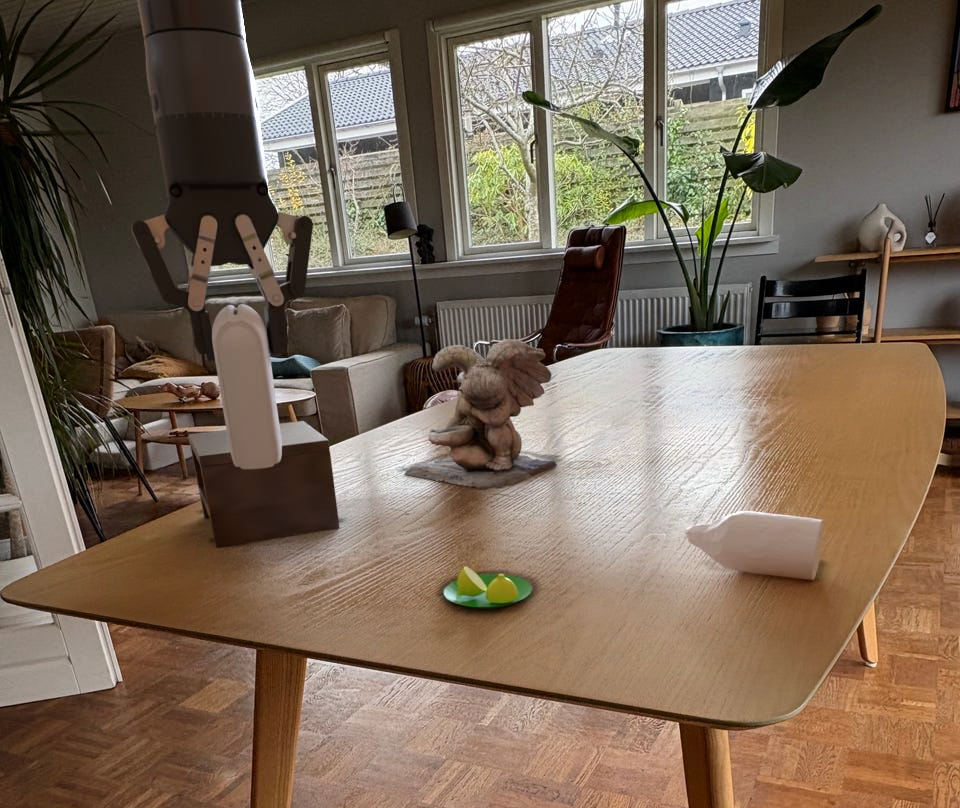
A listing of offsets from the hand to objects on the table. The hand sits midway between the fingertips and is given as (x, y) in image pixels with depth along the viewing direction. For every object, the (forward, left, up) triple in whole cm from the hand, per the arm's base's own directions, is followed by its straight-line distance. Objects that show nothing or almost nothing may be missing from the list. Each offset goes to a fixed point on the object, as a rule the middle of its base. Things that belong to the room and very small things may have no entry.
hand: (243, 356), depth 69 cm
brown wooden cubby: (+3, +26, -22) cm, 34 cm away
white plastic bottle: (+41, -15, -22) cm, 49 cm away
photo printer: (0, 0, -9) cm, 9 cm away
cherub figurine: (+35, +36, -22) cm, 55 cm away
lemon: (+17, -9, -22) cm, 29 cm away
